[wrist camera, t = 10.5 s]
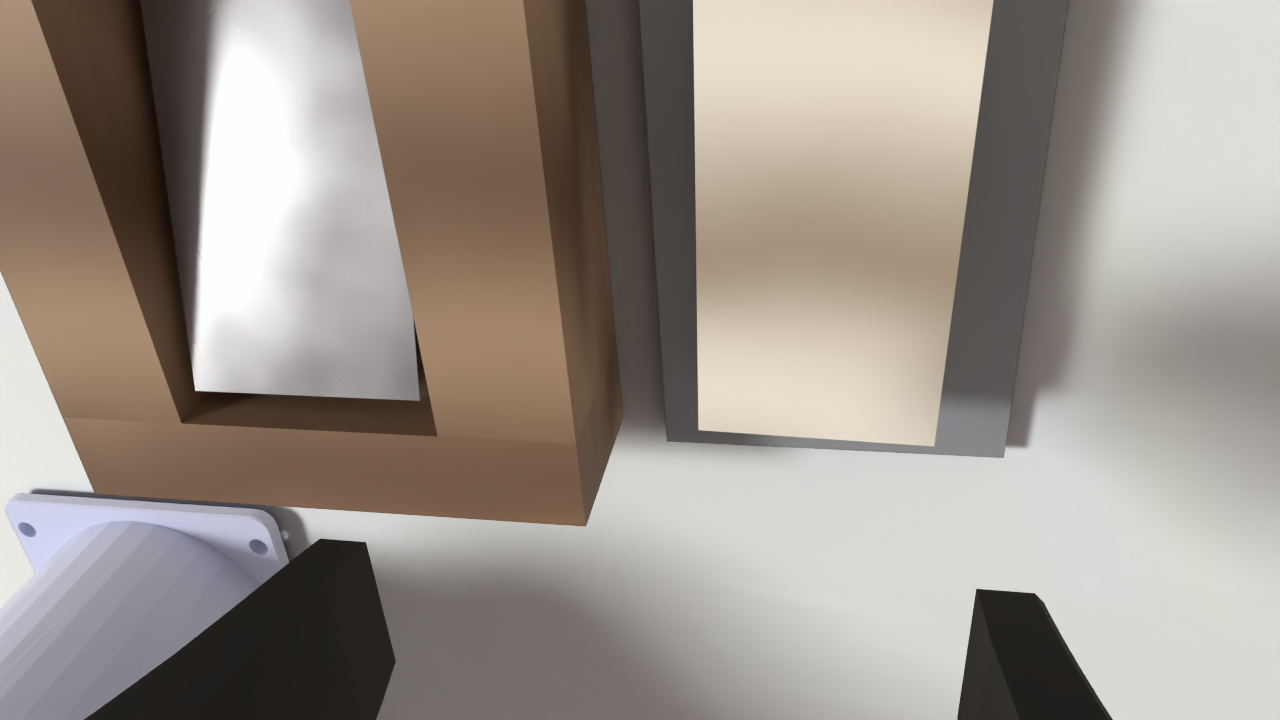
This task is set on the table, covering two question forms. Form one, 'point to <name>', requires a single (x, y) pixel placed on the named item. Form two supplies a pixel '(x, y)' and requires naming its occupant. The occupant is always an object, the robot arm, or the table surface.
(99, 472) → the walnut board
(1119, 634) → the table surface
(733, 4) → the birch bar
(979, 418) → the slate mat
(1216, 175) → the table surface
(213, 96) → the tipping switch rocker
